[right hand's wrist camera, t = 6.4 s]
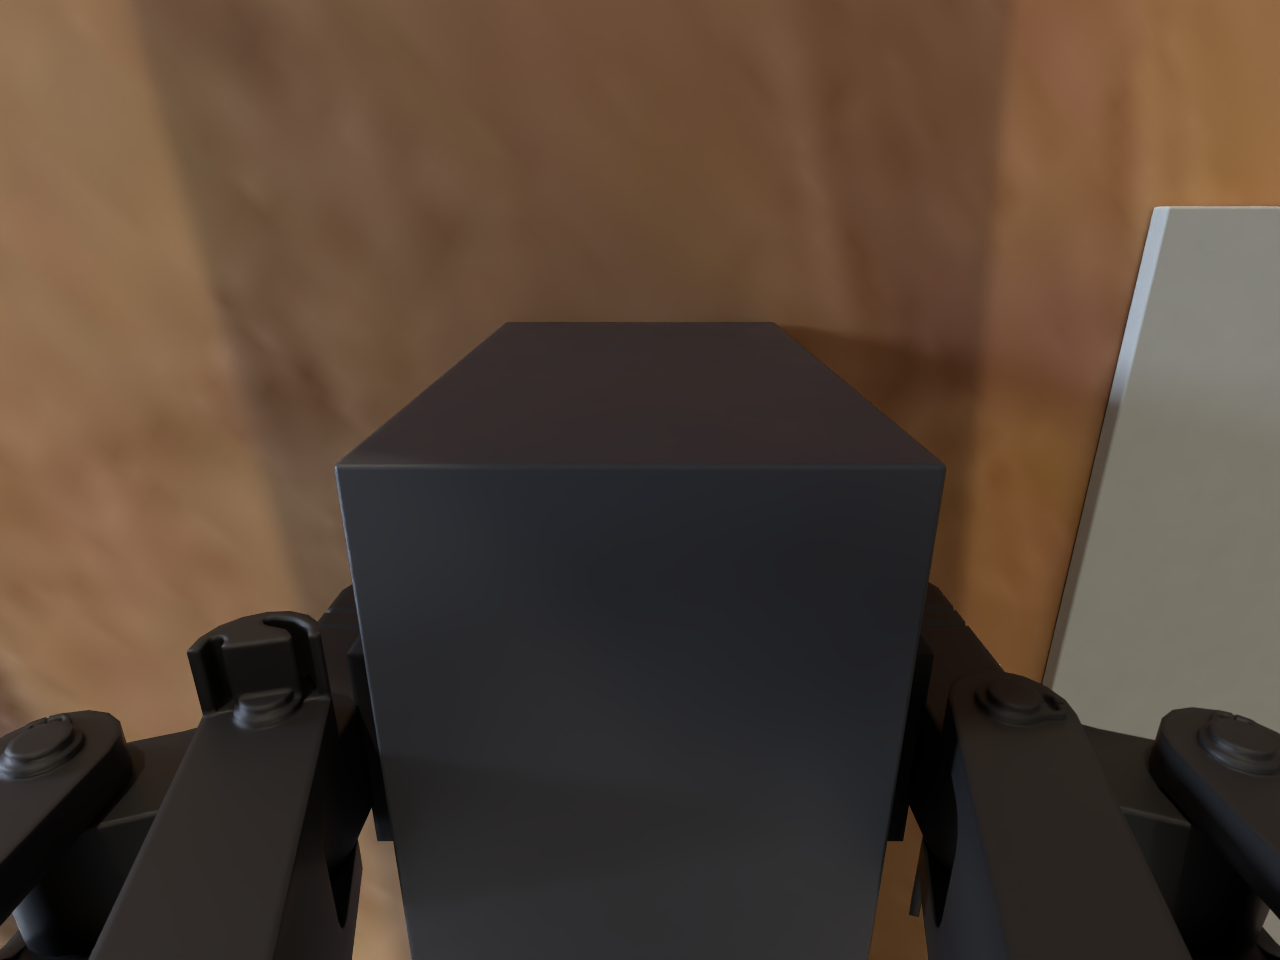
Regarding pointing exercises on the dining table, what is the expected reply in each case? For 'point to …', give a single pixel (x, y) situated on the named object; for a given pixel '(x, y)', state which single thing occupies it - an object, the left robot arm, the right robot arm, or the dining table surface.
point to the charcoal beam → (640, 643)
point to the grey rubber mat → (1184, 491)
